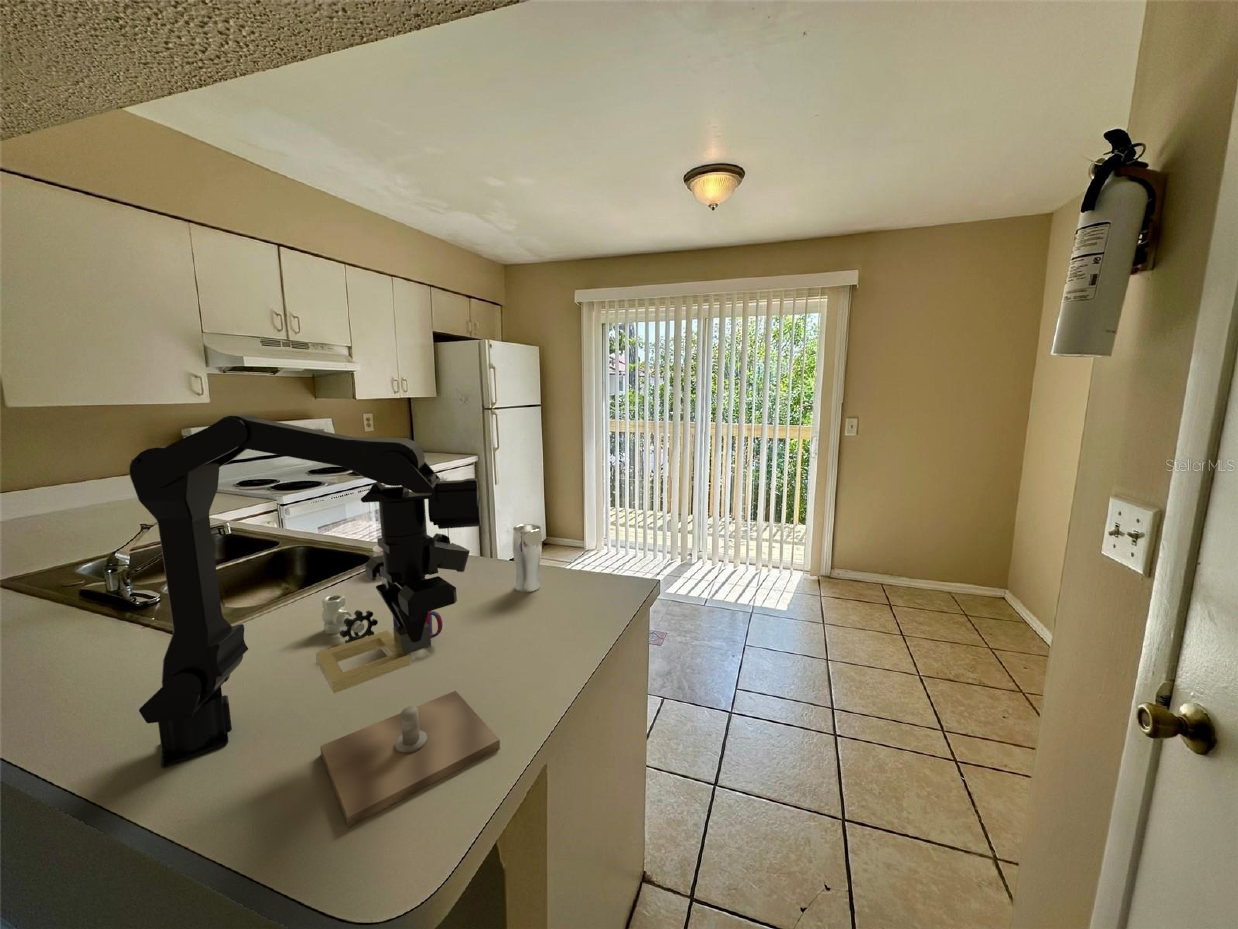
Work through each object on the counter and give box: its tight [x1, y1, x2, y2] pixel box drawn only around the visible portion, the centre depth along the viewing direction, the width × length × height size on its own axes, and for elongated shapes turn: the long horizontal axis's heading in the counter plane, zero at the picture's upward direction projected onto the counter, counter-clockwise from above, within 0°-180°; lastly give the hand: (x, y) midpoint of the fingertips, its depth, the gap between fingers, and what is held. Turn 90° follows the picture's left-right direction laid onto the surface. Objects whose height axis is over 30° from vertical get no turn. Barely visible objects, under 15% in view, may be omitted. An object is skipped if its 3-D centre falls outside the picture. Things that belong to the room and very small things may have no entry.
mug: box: [392, 610, 443, 639], centre depth 90 cm, size 7×10×7 cm
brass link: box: [315, 622, 432, 695], centre depth 65 cm, size 13×9×3 cm
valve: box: [321, 594, 379, 644], centre depth 92 cm, size 7×7×12 cm
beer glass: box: [511, 523, 543, 593], centre depth 115 cm, size 7×7×15 cm
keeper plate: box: [320, 690, 501, 828], centre depth 62 cm, size 18×14×6 cm
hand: (412, 637), depth 68 cm, fingers closed on brass link, 3 cm apart
